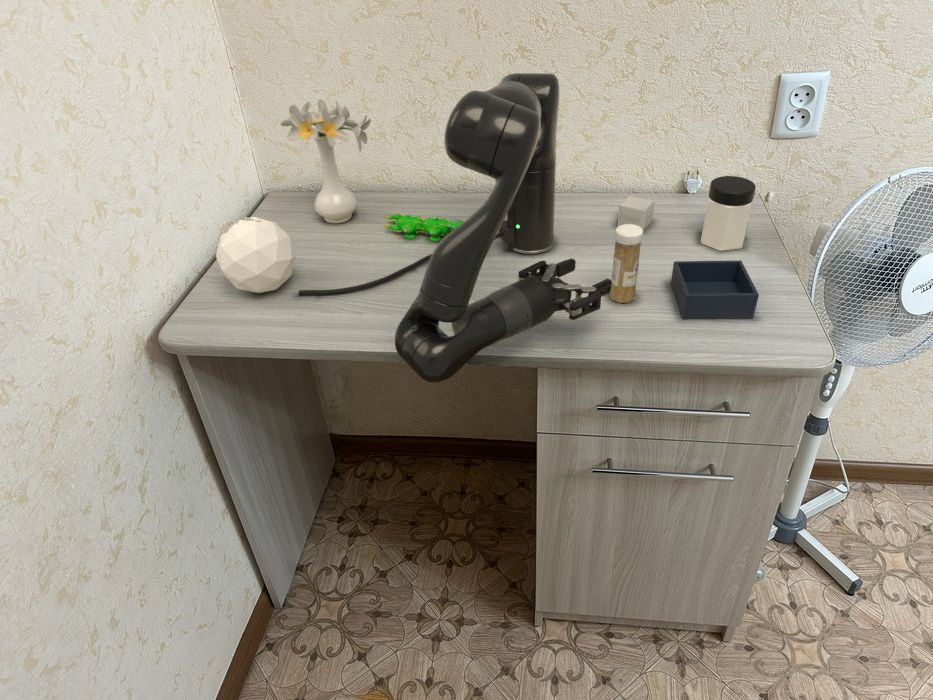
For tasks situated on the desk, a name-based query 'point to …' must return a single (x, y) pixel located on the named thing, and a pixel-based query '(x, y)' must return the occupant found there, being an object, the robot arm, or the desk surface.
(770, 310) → the desk surface
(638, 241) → the sprinkles bottle
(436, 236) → the crocodile figurine
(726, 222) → the jar
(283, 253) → the geodesic sphere
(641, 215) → the small box
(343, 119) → the flower vase
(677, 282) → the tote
